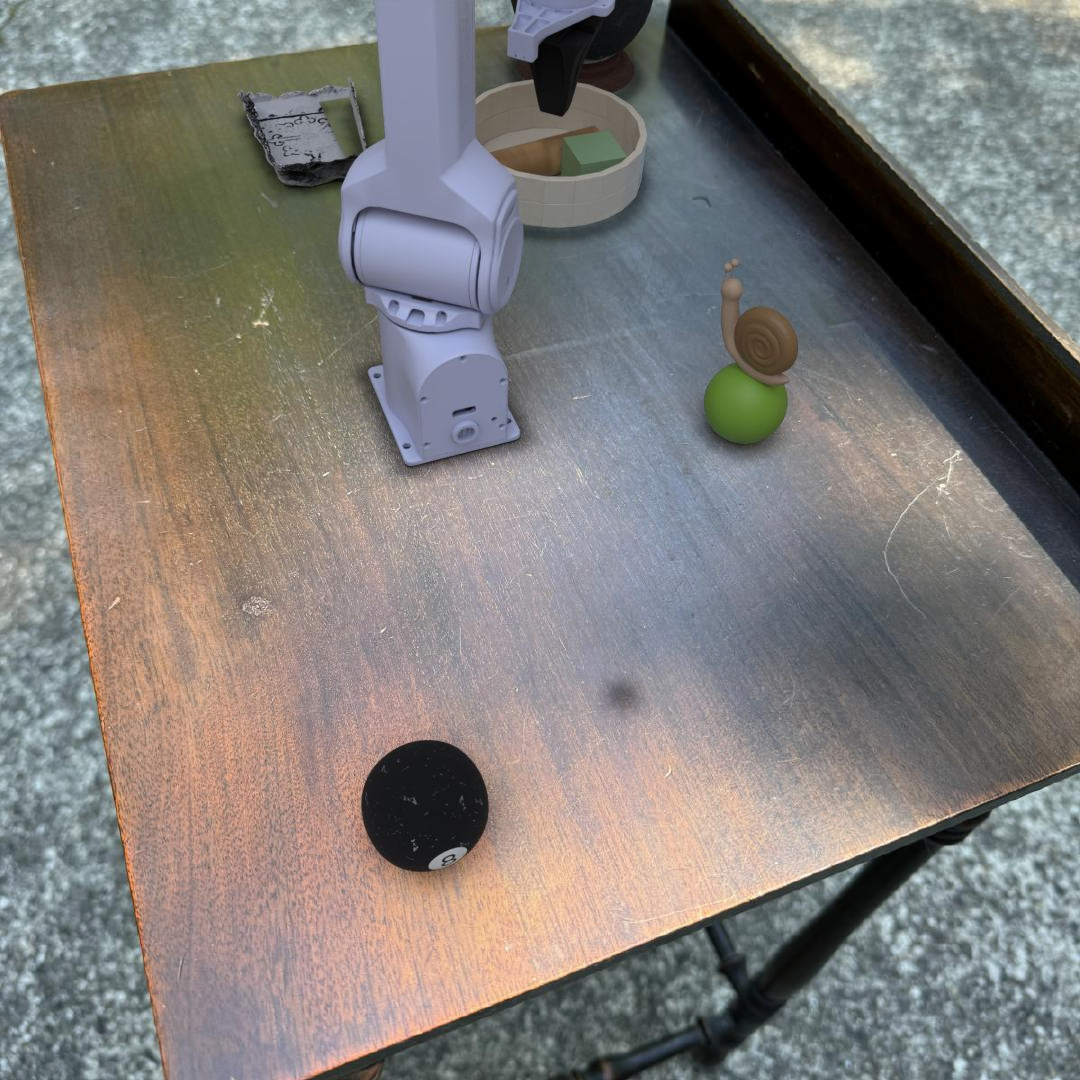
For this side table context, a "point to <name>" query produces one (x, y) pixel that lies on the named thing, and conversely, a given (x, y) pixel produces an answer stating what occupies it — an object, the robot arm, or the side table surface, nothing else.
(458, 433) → the robot arm
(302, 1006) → the side table surface
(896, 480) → the side table surface
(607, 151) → the green block
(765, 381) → the snail figurine
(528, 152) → the brown wooden cylinder
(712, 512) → the side table surface
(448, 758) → the billiard ball
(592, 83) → the snow globe
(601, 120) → the bowl
